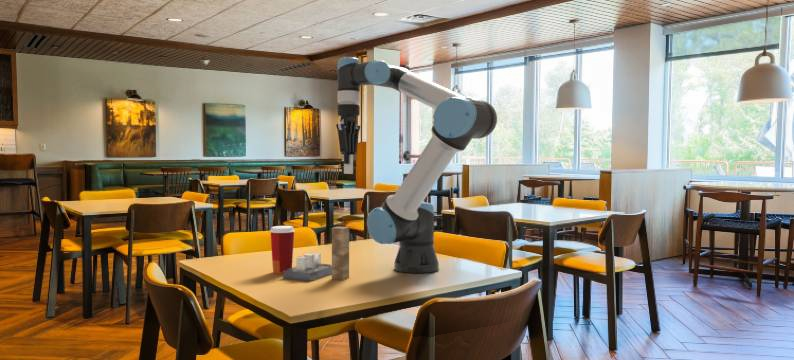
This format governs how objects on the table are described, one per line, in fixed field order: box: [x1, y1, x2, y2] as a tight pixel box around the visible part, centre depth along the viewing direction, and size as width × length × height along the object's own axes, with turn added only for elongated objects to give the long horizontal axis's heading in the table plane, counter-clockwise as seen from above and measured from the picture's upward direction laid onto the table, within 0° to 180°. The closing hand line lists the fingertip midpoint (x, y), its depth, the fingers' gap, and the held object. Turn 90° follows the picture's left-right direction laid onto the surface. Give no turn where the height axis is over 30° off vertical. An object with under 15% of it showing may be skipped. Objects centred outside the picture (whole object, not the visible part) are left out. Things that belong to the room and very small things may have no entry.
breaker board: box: [282, 252, 332, 282], centre depth 188 cm, size 10×14×6 cm
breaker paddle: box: [303, 253, 314, 268], centre depth 188 cm, size 3×2×4 cm, turn 66°
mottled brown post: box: [331, 226, 350, 281], centre depth 184 cm, size 4×4×16 cm
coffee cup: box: [268, 225, 296, 275], centre depth 193 cm, size 8×8×15 cm
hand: (348, 173), depth 200 cm, fingers closed
